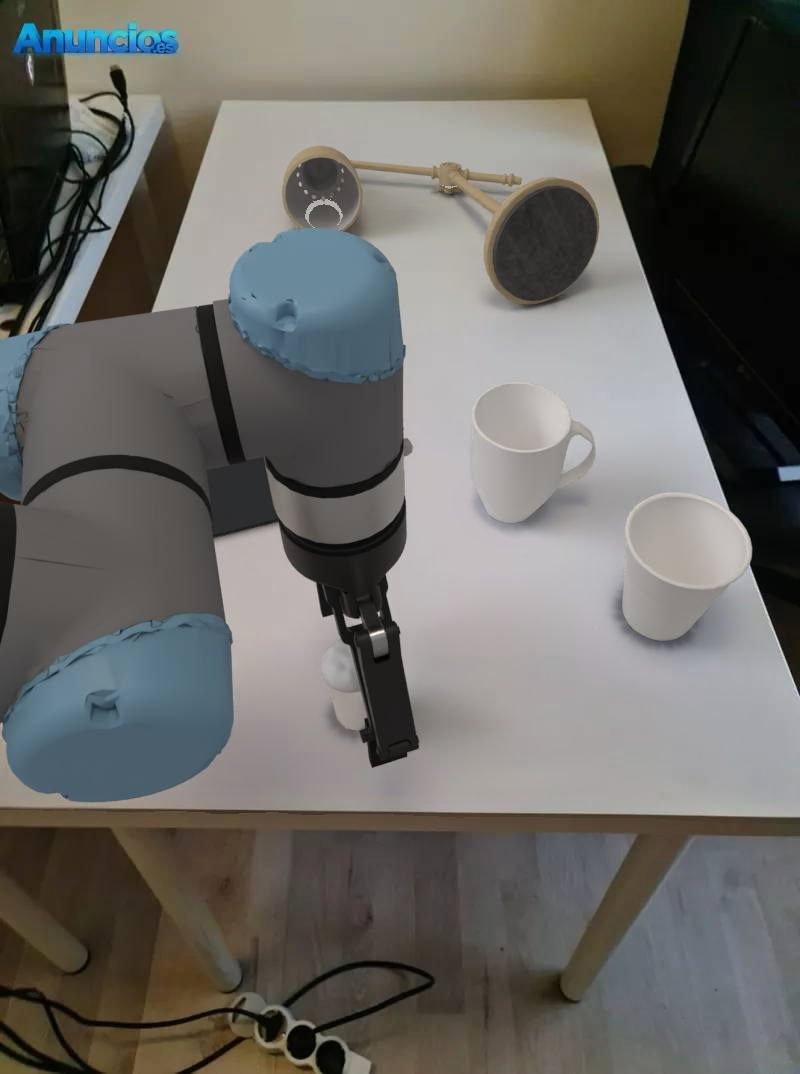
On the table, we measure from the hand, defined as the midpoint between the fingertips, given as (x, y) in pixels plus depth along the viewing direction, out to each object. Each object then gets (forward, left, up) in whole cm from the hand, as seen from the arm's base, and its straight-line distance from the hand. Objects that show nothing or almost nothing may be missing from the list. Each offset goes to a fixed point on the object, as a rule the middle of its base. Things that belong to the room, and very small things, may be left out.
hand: (361, 679), depth 64 cm
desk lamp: (+28, +66, -6) cm, 72 cm away
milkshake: (0, 0, -6) cm, 6 cm away
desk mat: (-1, +29, -6) cm, 30 cm away
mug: (+22, +17, -6) cm, 28 cm away
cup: (+28, +1, -6) cm, 28 cm away
